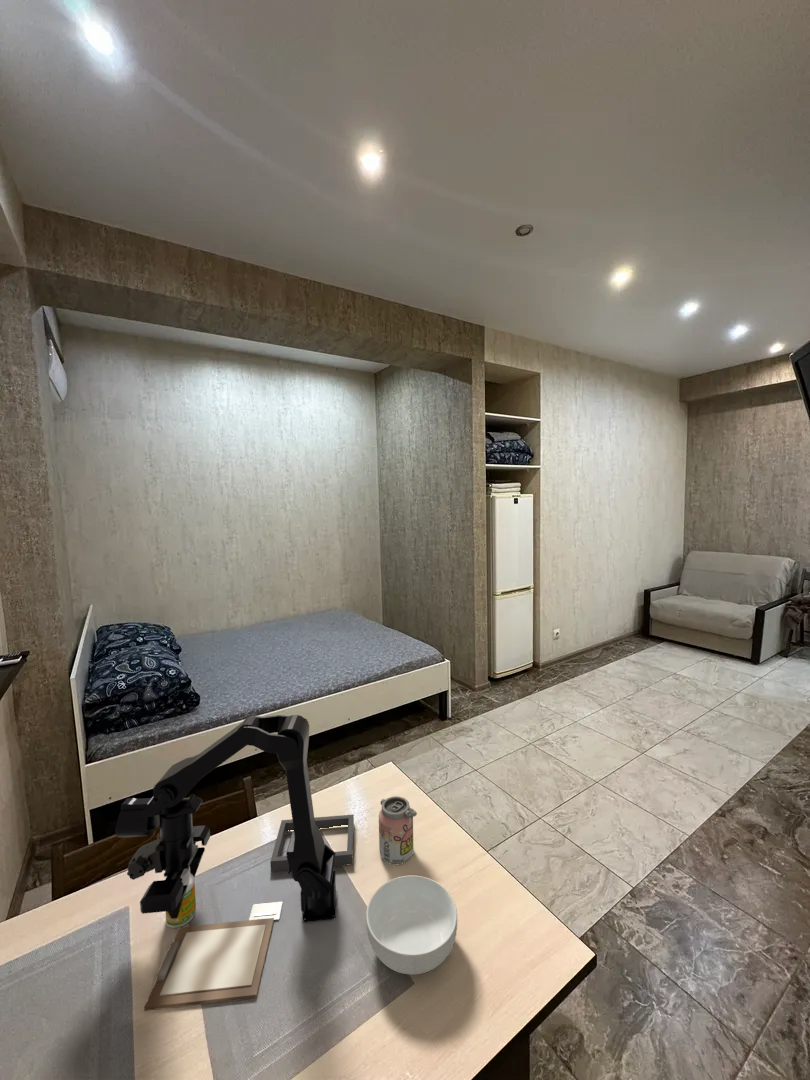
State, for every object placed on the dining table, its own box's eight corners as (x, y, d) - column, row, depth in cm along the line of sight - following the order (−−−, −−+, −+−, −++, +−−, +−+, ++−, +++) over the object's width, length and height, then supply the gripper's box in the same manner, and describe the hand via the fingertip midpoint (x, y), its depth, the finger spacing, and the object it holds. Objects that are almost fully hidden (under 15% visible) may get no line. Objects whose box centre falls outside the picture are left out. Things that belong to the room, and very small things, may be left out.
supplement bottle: (183, 931, 86) (181, 884, 85) (159, 926, 87) (157, 880, 86) (201, 906, 91) (199, 862, 90) (179, 902, 92) (176, 858, 91)
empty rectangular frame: (353, 823, 114) (353, 814, 114) (352, 864, 101) (351, 854, 101) (282, 829, 113) (281, 820, 113) (270, 871, 99) (270, 861, 99)
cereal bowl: (465, 919, 87) (465, 886, 86) (445, 1010, 71) (445, 969, 71) (386, 896, 92) (385, 864, 92) (351, 975, 77) (350, 938, 76)
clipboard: (273, 920, 87) (273, 913, 87) (256, 997, 73) (256, 988, 73) (180, 929, 86) (179, 922, 86) (144, 1010, 72) (143, 1001, 72)
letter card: (282, 902, 91) (282, 901, 91) (279, 920, 88) (278, 918, 87) (253, 905, 91) (253, 903, 91) (248, 923, 87) (248, 921, 87)
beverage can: (395, 832, 111) (394, 787, 110) (423, 847, 106) (422, 799, 105) (371, 856, 103) (370, 807, 103) (400, 873, 98) (399, 822, 98)
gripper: (156, 803, 96) (160, 870, 97) (106, 872, 78) (112, 955, 79) (209, 799, 97) (212, 866, 98) (172, 867, 79) (176, 948, 80)
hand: (180, 904), depth 89 cm, fingers closed on supplement bottle, 5 cm apart
